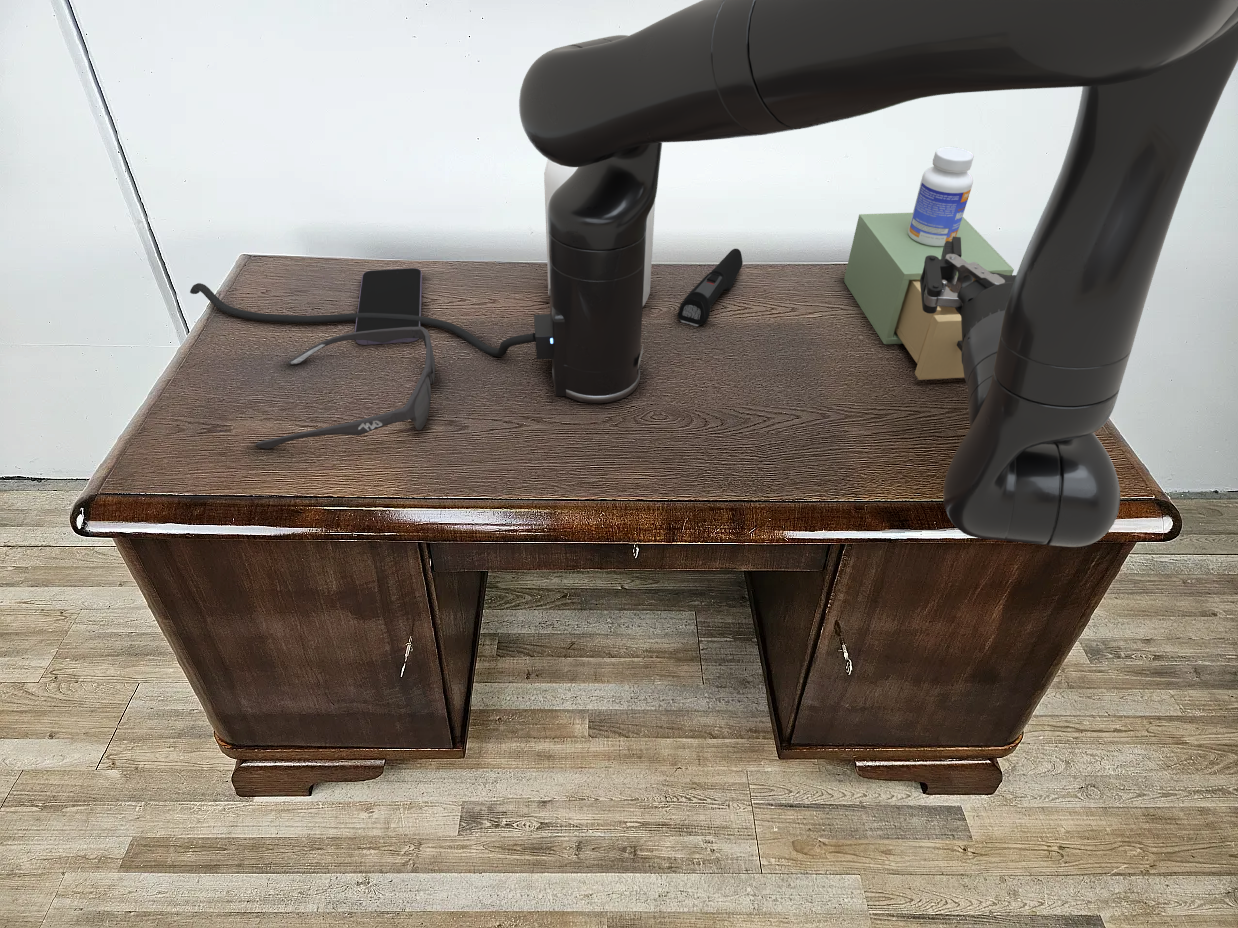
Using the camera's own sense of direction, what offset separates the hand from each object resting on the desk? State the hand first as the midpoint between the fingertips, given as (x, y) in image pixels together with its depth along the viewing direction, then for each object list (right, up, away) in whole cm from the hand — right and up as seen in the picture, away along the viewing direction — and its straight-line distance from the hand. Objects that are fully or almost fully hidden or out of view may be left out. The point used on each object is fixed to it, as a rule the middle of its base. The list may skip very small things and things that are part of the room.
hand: (1000, 249), depth 78 cm
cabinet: (0, -1, +22) cm, 22 cm away
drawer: (+1, -8, +14) cm, 16 cm away
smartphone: (-64, -2, +20) cm, 67 cm away
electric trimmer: (-25, 0, +24) cm, 35 cm away
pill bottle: (0, +6, +17) cm, 18 cm away
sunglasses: (-63, -14, +6) cm, 65 cm away
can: (-39, 0, +23) cm, 45 cm away
